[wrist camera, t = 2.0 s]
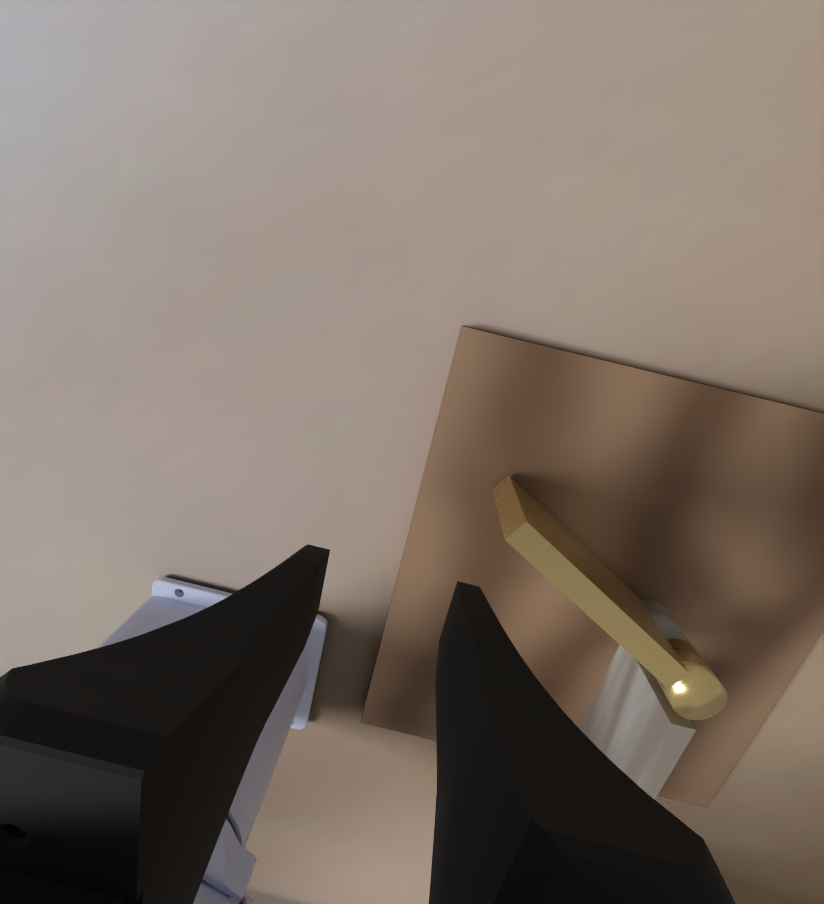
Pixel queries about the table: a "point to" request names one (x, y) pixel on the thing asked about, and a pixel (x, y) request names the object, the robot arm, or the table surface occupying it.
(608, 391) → the hinge base
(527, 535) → the hinge leaf
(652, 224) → the table surface
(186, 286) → the table surface
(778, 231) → the table surface
